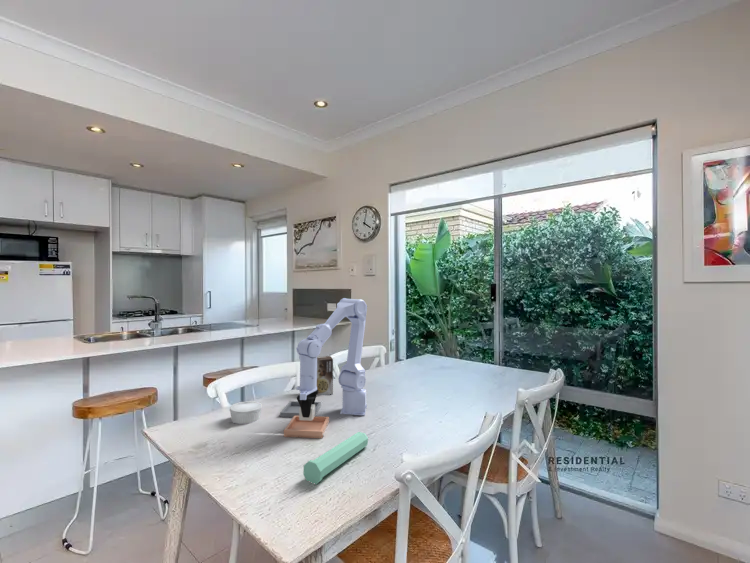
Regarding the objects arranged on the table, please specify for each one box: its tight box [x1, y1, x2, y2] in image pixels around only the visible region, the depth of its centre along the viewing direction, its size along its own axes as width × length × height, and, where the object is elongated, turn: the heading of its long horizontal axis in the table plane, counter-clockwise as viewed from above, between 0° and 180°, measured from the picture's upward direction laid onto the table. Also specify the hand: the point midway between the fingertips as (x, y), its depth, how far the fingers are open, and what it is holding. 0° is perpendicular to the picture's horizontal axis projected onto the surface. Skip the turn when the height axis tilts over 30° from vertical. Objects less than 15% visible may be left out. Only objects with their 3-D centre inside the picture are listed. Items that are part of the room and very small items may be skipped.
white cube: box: [299, 404, 315, 421], centre depth 124 cm, size 4×4×4 cm
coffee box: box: [317, 355, 334, 396], centre depth 163 cm, size 9×6×16 cm
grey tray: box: [279, 400, 322, 418], centre depth 139 cm, size 13×13×2 cm
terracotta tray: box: [283, 415, 330, 439], centre depth 124 cm, size 13×13×2 cm
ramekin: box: [229, 400, 263, 425], centre depth 131 cm, size 11×11×5 cm
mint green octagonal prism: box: [302, 431, 369, 485], centre depth 103 cm, size 6×6×25 cm
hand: (307, 414), depth 124 cm, fingers closed on white cube, 4 cm apart
